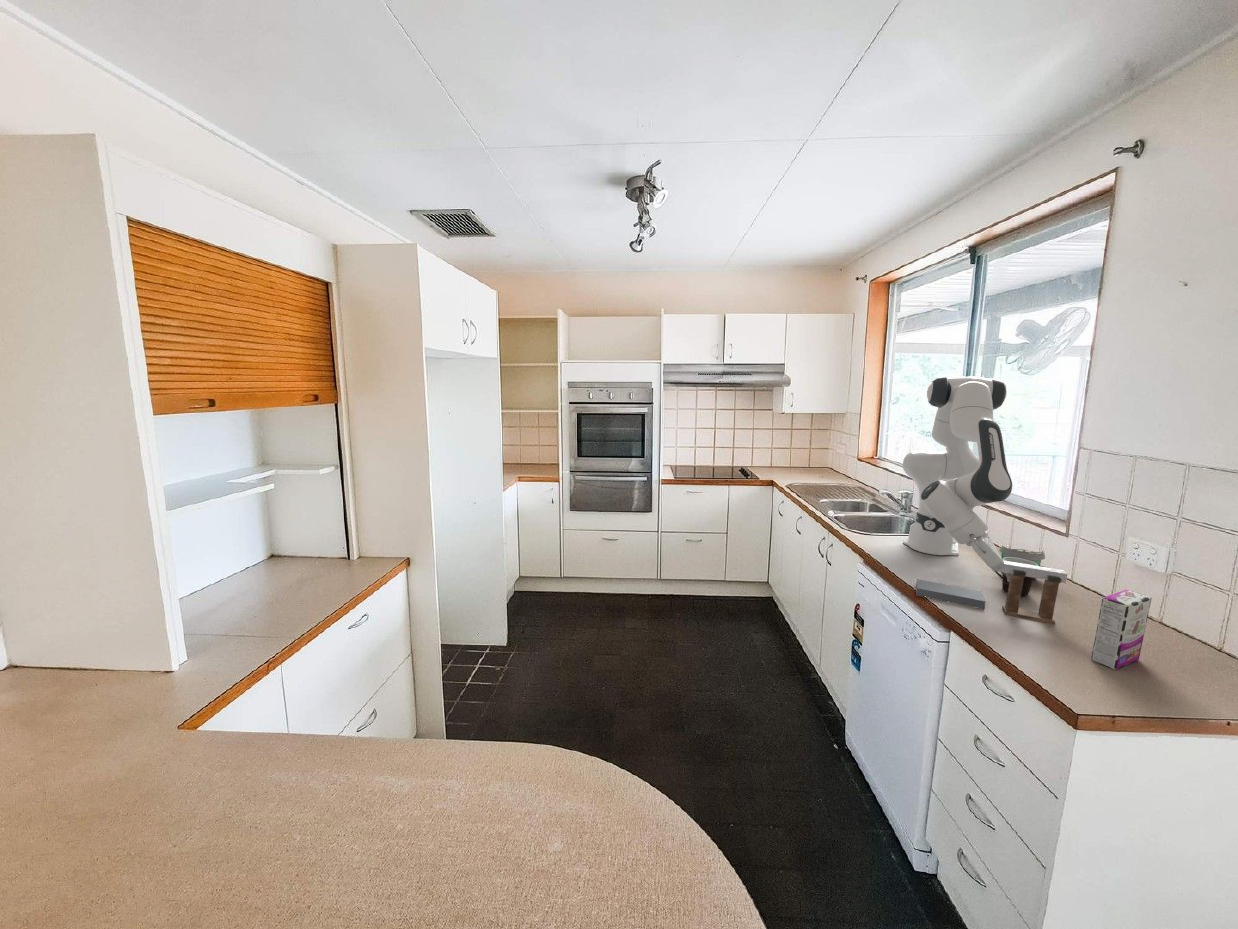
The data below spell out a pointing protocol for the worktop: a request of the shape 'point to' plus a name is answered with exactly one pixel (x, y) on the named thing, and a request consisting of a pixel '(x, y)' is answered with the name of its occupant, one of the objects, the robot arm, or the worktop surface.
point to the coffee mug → (1006, 576)
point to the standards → (1045, 604)
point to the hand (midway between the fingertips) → (1005, 569)
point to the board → (950, 593)
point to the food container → (1023, 555)
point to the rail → (1035, 571)
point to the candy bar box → (1120, 629)
